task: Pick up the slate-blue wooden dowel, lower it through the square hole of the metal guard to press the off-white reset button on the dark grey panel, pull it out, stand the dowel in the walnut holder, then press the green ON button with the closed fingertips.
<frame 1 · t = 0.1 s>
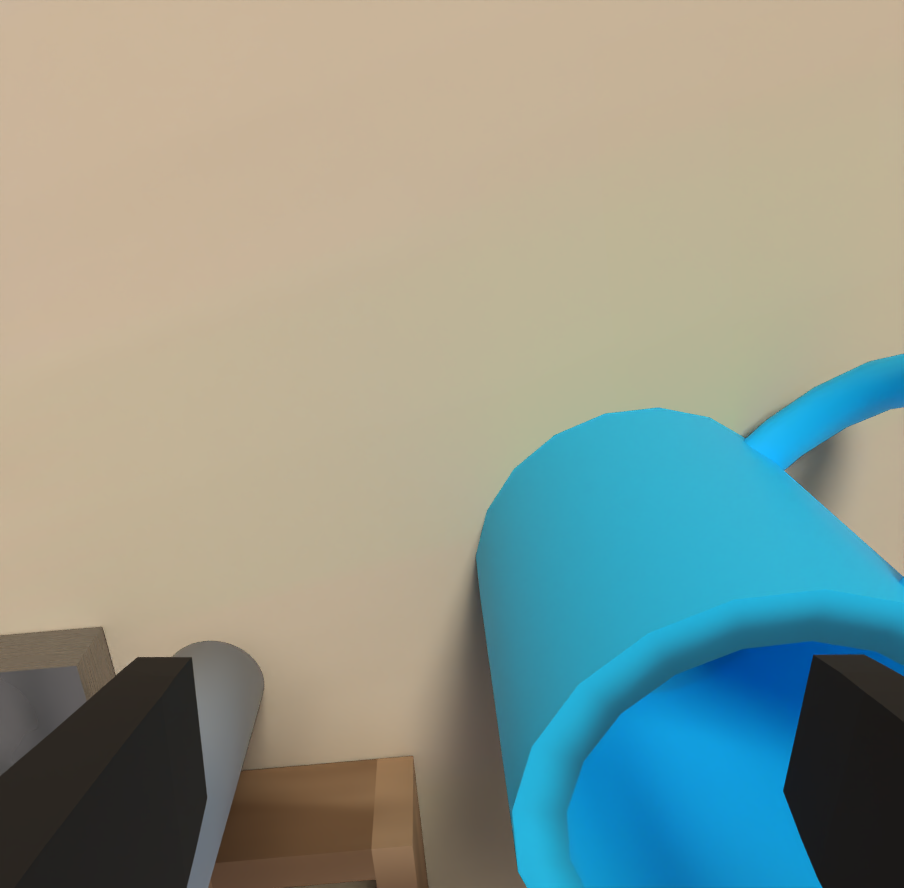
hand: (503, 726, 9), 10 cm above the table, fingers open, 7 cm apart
mug: (685, 501, 20), on the table
holder: (320, 845, 23), on the table
dowel: (214, 682, 21), on the table
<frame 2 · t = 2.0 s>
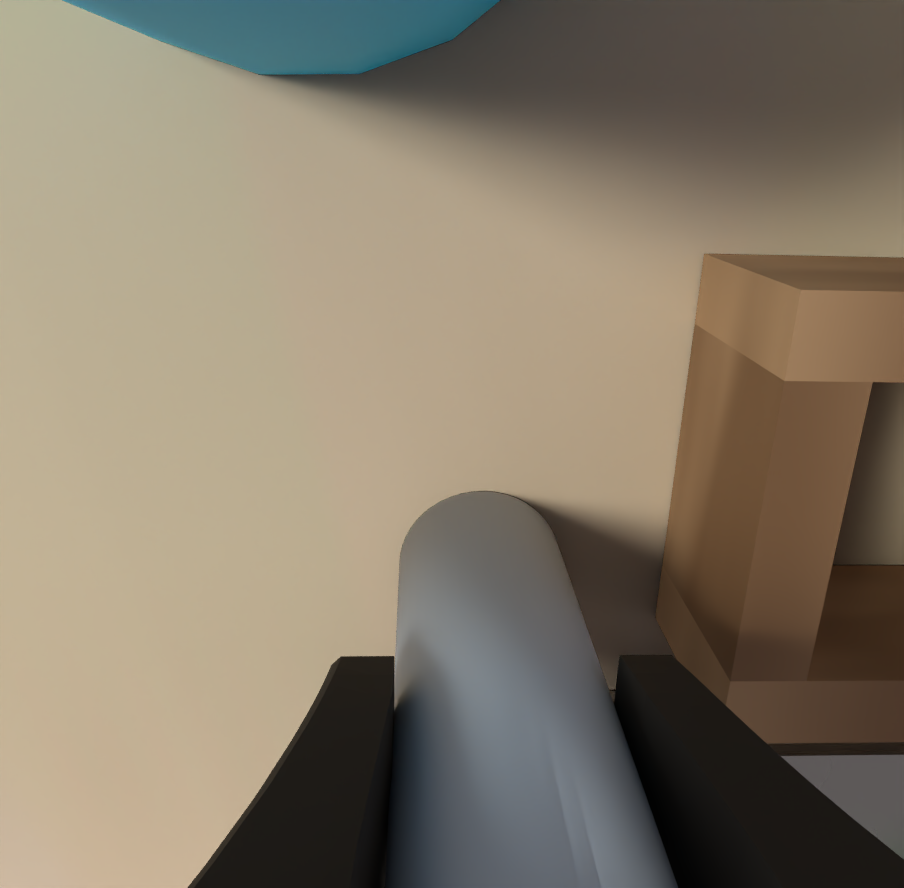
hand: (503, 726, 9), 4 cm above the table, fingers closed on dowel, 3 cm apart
holder: (866, 452, 12), on the table
dowel: (479, 564, 13), on the table, touching gripper
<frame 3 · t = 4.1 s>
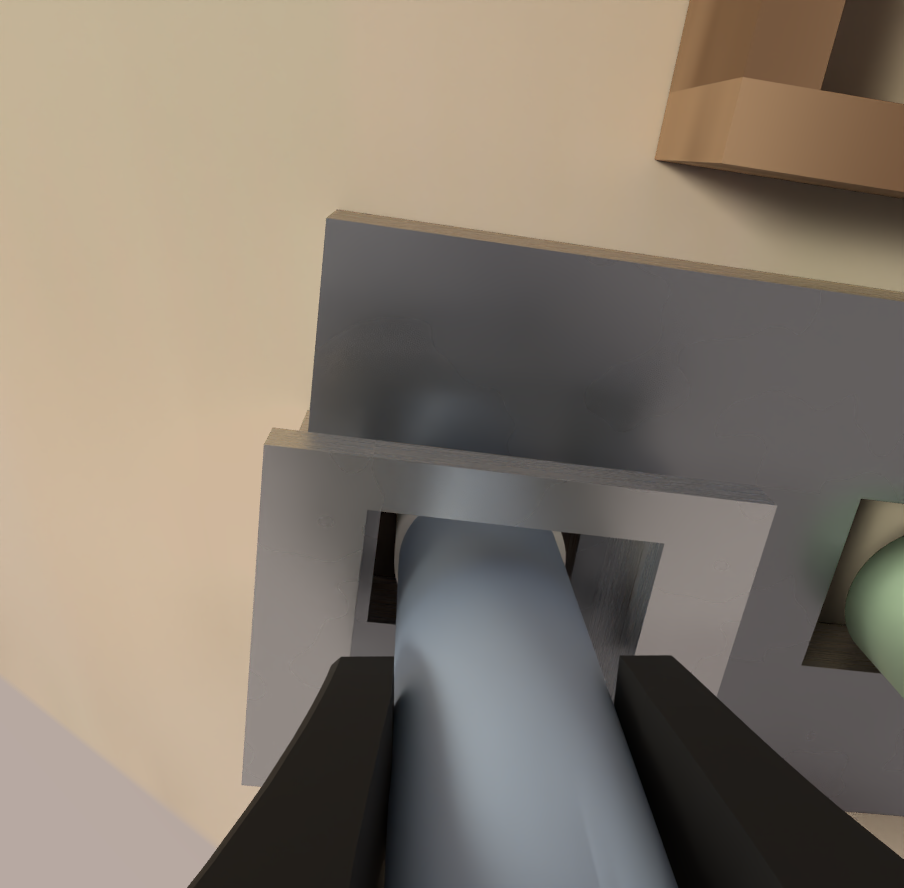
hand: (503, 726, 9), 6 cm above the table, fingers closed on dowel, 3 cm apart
button reset: (477, 541, 13), point 1 cm above the table, slide at 1.0 cm, touching dowel
panel: (676, 529, 15), on the table
dowel: (478, 562, 13), point 2 cm above the table, touching button reset, gripper
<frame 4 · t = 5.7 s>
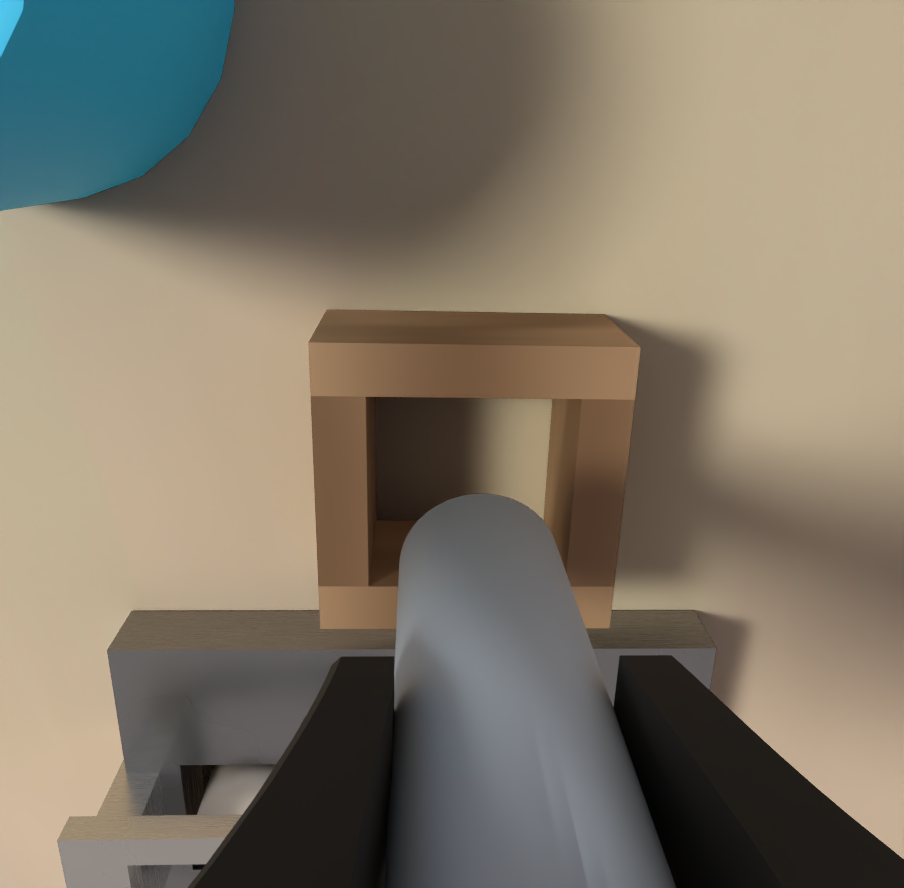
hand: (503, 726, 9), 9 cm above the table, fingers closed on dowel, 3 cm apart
button reset: (256, 811, 20), point 1 cm above the table, slide at 1.1 cm
panel: (415, 769, 21), on the table
holder: (462, 442, 18), on the table
dowel: (479, 566, 13), point 6 cm above the table, touching gripper
when the fingers open (5 cm above the table, at t = 6.7 s): dowel stays where it is, resting in holder.
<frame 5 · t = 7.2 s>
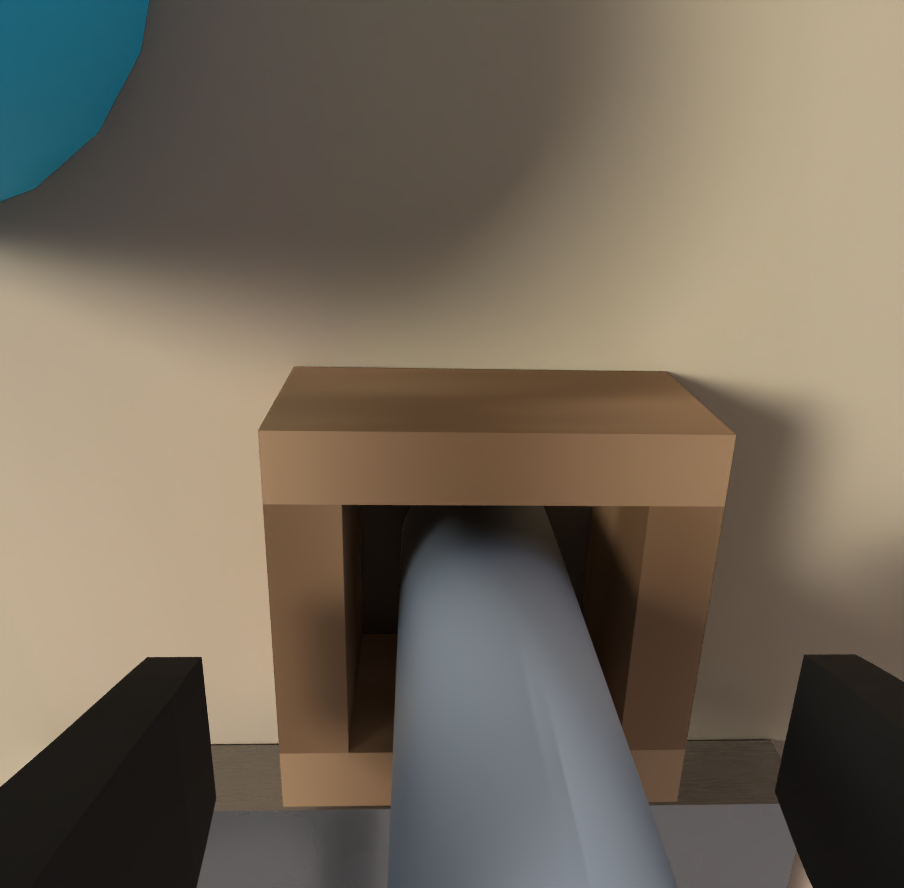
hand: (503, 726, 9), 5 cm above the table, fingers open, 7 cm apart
holder: (475, 536, 14), on the table
dowel: (476, 538, 14), resting in holder
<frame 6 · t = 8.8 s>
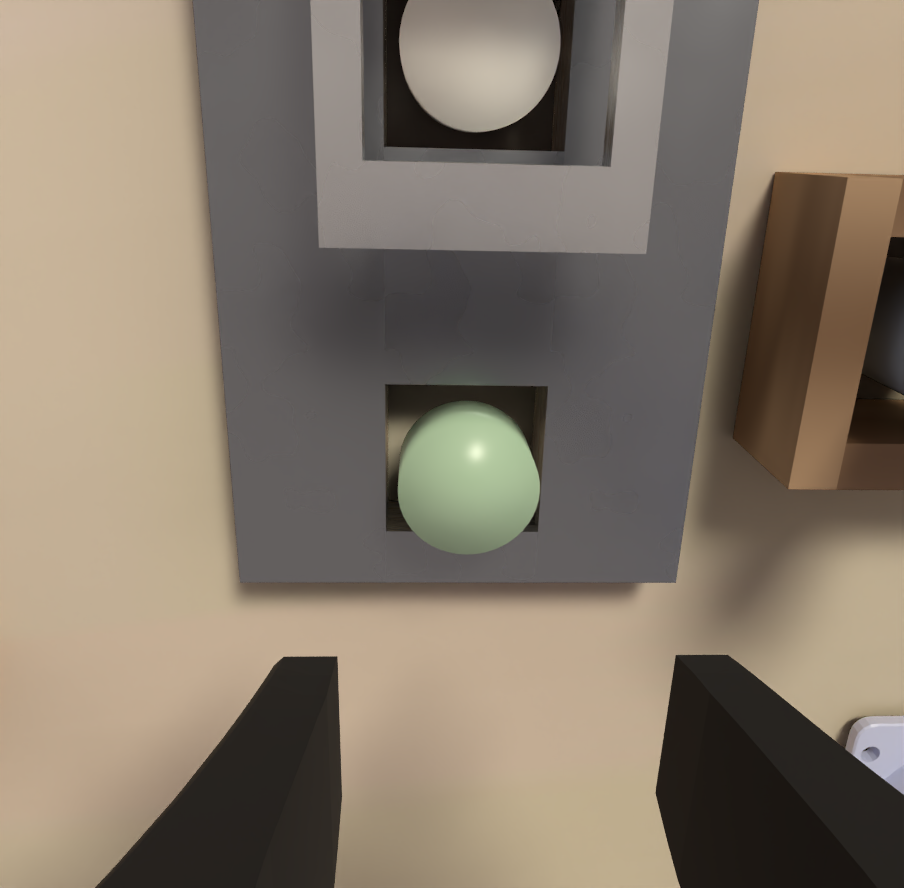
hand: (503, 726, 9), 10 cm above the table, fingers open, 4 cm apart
button reset: (477, 49, 14), point 1 cm above the table, slide at 1.1 cm
panel: (466, 262, 17), on the table
holder: (882, 315, 18), on the table
dowel: (880, 315, 18), resting in holder
button on: (466, 476, 16), point 2 cm above the table, slide at 0.0 cm
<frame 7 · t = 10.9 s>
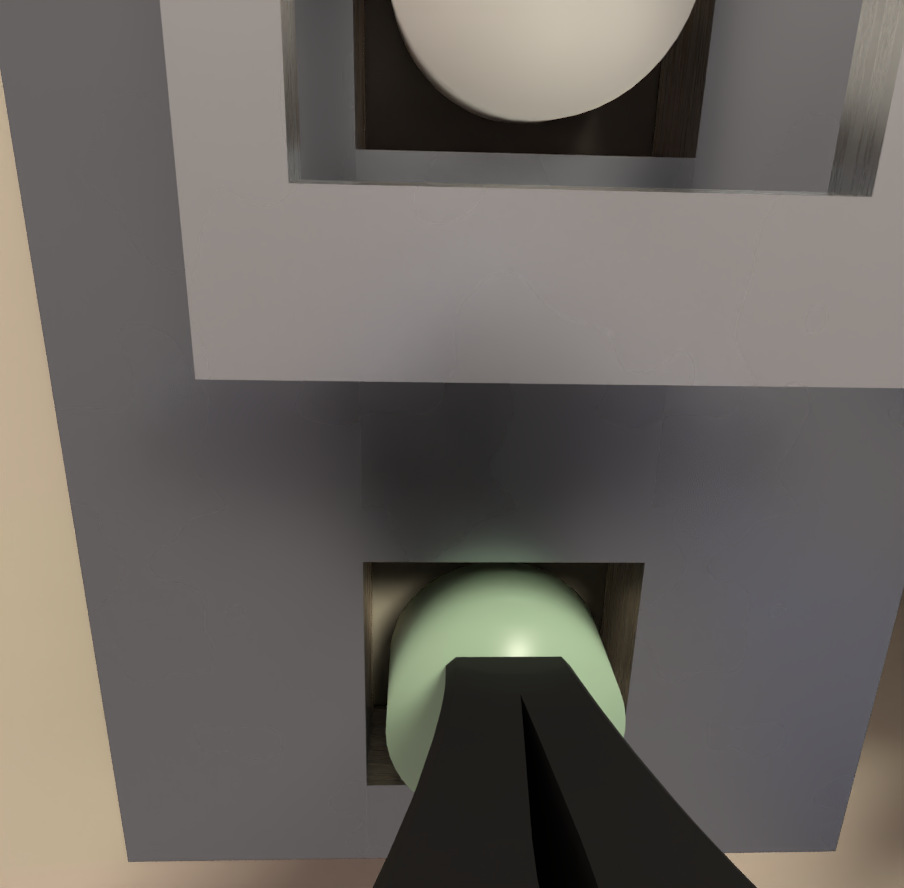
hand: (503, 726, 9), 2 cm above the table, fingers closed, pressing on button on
panel: (500, 343, 10), on the table
button on: (500, 689, 10), point 2 cm above the table, slide at 0.7 cm, touching gripper
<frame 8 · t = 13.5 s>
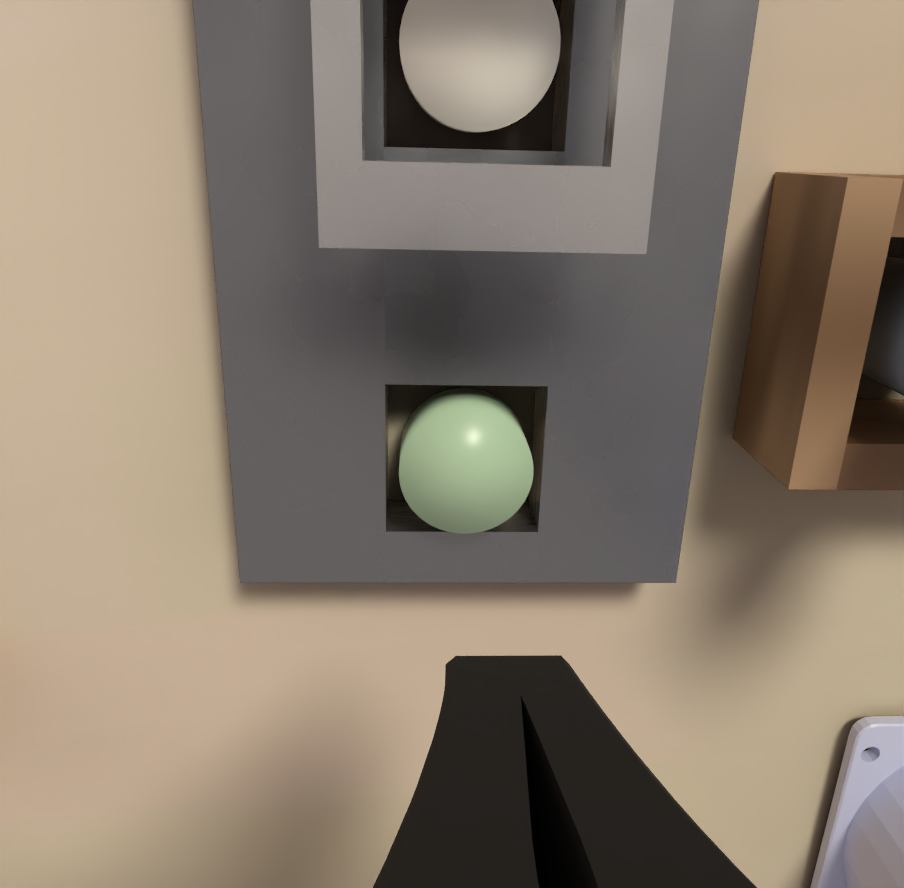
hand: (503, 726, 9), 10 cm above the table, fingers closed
button reset: (477, 49, 14), point 1 cm above the table, slide at 1.1 cm
panel: (466, 262, 17), on the table
holder: (882, 315, 18), on the table
dowel: (880, 315, 18), resting in holder
button on: (464, 459, 17), point 2 cm above the table, slide at 0.9 cm
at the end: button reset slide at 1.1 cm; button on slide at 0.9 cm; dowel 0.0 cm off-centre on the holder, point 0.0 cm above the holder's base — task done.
